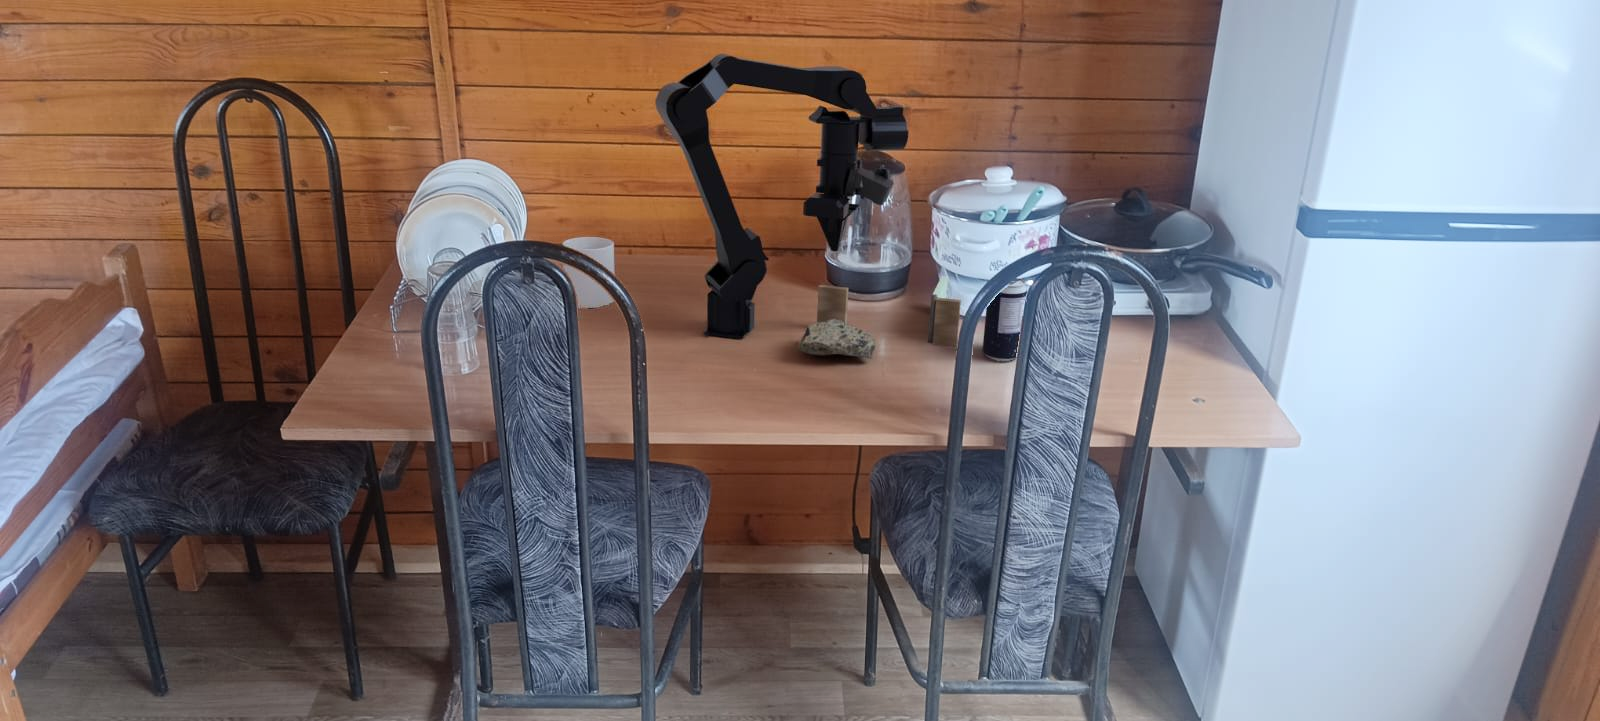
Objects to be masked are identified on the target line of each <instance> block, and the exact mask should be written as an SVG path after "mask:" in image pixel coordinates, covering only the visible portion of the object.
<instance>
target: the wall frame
mask: <svg viewBox="0 0 1600 721" xmlns="http://www.w3.org/2000/svg"><path fill="white" fill-rule="evenodd" d="M817 291H818V292H817V308H816V309H817V312H816V313H817V314H816V323H817V322H825V321H828V320H831V319H836V320H841V321H842V322H844V323H845V324H846V325H848V324H847V322H848V321H847V320H848V302H849V301H848V300H849V287H847V286H845V287H843V286H836V285H835V286H834V285H827V284H826V285H824V284H820V285H819V286H818V290H817ZM931 297H932V298H931ZM931 297H930V298H931V299H930V310H931V311H930V312H929V313H930V315H929V324H928V325H929V326H928V327H929V328H928V336H927V337H928V340H927V342H928V343H930V344H933V345H943V346H950V347H957V346H958V339H959V338H958V335H959V326H960V316H961V314H960V313H961V304H962V303H961V302H962V300H961V299H956V298H955V299H953V298H947V297H946V298H937V295H935V294H933V293H932V294H931Z"/></svg>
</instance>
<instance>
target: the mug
mask: <svg viewBox="0 0 1600 721" xmlns="http://www.w3.org/2000/svg"><path fill="white" fill-rule="evenodd" d="M562 245H564V246H567V247H569V248H572V249H574V250H577V251H579V252H581V253H583V254H586V255H588V256H589V257H591V258H593V259H594V260H596V261H597V262H599V263H600V264H602V265H603V266H604V267H606V268H607V269H608V270H609V271H611V272H612V273H613V274H614V275H615V244H614V241H613V240H611V239H608V238H604V237H598V236H597V237H595V236H583V237H573V238H569V239H566V240H564V241H563V242H562ZM562 245H561V246H562ZM562 266H563V267H562V269H563V268H564V269H565V271H566V272H567V273H568V275H569V277H570V278H571V280H572V283H573V285H574V287H575V291H576V294H577V299H578V306H579V309H580V305H581V308H582V307H585V308H588V307H590V308H592V307H600V306H603V305H608V306H610V305H609V303H612V302H613V303H614V301H615V300H614V301H613V300H612V298H611V297H610V296H609V295H608V293H607V292H606V291H605V290H604V289H603V288H602V287H601V286H600V285H598V284H597V283H596V282H595V281H594V280H592V279H591V278H590V277H588V276H587V275H585V274H584V273H582V272H580V271H578V270H576V269H574V268H572V267H570V266H567V265H563V264H562ZM613 303H612V304H613ZM580 310H581V309H580Z"/></svg>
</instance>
